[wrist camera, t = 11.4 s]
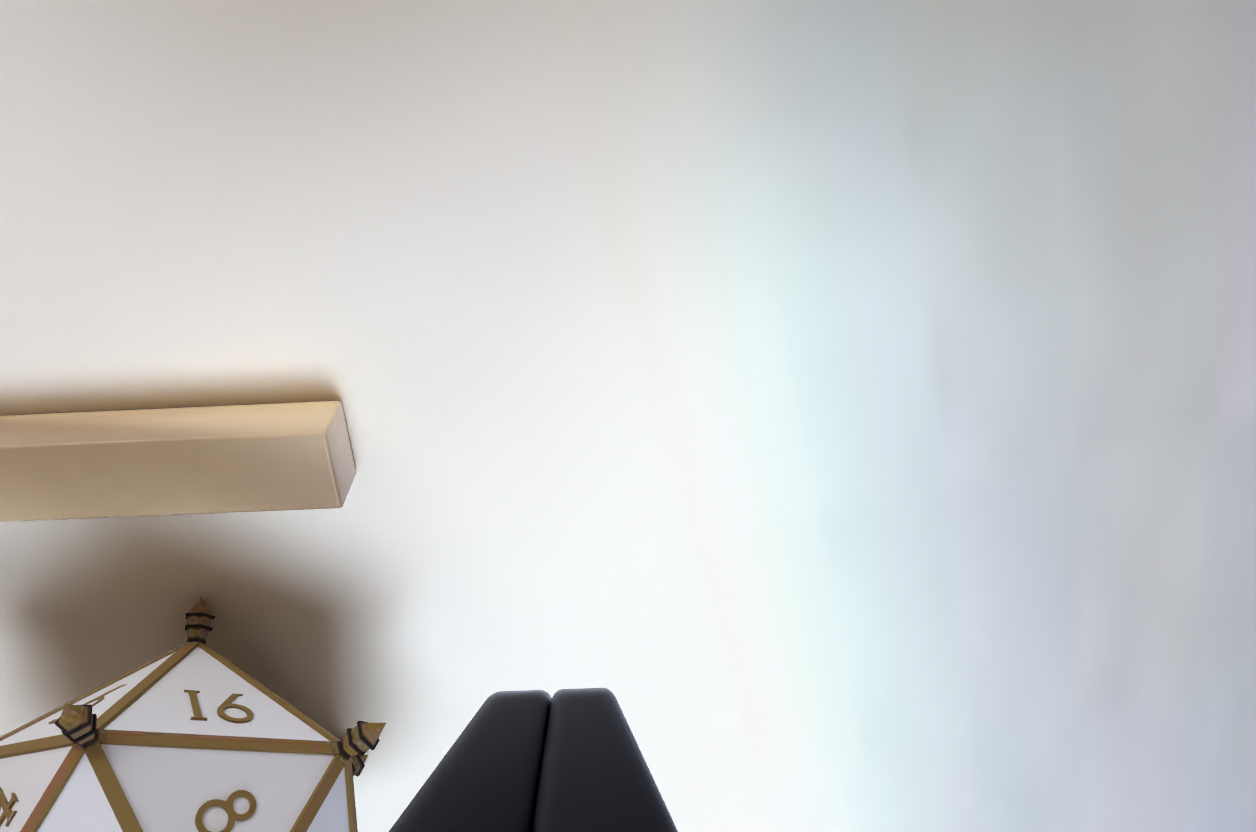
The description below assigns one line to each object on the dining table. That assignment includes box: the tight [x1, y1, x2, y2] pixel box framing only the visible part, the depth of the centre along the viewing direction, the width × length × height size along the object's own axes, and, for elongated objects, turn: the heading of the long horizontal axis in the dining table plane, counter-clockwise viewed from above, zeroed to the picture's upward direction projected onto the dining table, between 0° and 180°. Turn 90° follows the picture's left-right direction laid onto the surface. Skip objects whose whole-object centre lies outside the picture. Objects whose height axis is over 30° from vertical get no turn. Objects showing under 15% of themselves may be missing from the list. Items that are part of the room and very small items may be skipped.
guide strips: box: [0, 401, 356, 522], centre depth 24 cm, size 17×9×1 cm, turn 3°
